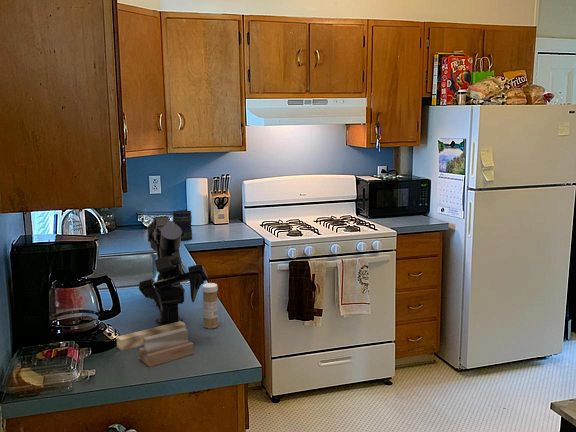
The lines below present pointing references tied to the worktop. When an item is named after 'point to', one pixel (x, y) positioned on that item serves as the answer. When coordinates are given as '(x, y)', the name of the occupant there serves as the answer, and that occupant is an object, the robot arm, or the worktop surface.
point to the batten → (145, 335)
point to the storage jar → (183, 223)
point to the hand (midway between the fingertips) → (176, 306)
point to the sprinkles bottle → (210, 305)
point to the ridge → (166, 347)
